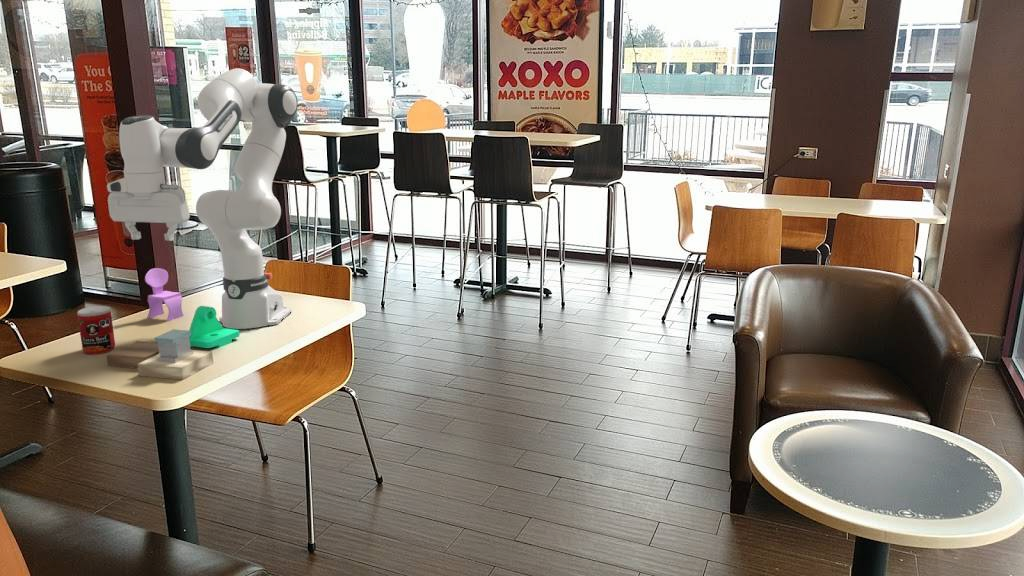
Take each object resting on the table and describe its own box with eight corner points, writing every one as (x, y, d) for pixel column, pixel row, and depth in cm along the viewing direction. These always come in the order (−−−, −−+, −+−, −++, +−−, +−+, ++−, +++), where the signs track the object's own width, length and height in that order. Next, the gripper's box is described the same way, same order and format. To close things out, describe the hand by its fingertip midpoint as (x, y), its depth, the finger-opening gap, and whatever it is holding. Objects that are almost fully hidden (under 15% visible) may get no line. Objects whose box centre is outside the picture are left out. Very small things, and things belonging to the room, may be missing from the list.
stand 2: (171, 359, 196) (170, 348, 195) (213, 363, 193) (212, 351, 192) (139, 375, 184) (137, 364, 183) (183, 379, 181) (181, 367, 181)
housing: (157, 361, 185) (154, 337, 184) (175, 352, 192) (173, 329, 190) (175, 363, 184) (172, 339, 183) (193, 353, 191) (191, 330, 189)
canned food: (79, 355, 199) (73, 314, 196) (87, 346, 206) (81, 307, 204) (112, 353, 201) (106, 312, 198) (118, 344, 208) (113, 304, 206)
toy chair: (165, 322, 228) (159, 273, 225) (144, 319, 232) (138, 270, 228) (187, 315, 236) (182, 267, 232) (166, 312, 239) (160, 265, 235)
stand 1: (138, 352, 202) (136, 341, 201) (175, 354, 199) (173, 343, 198) (107, 365, 191) (106, 354, 190) (146, 369, 189) (144, 357, 188)
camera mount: (209, 352, 202) (205, 314, 199) (187, 348, 205) (183, 311, 202) (241, 339, 212) (238, 303, 210) (220, 336, 215) (216, 300, 213)
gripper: (191, 183, 188) (197, 238, 191) (119, 181, 192) (126, 236, 196) (175, 186, 182) (182, 243, 185) (100, 184, 186) (108, 241, 190)
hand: (153, 239), depth 191 cm, fingers open, 8 cm apart
